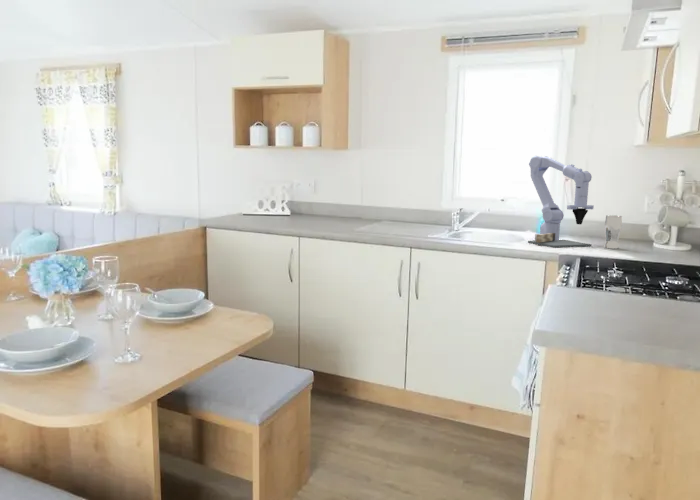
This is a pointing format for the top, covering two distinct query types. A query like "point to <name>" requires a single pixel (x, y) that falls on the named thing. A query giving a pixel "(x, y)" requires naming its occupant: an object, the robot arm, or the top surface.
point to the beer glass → (612, 231)
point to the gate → (546, 237)
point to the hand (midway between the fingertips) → (579, 224)
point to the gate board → (560, 243)
